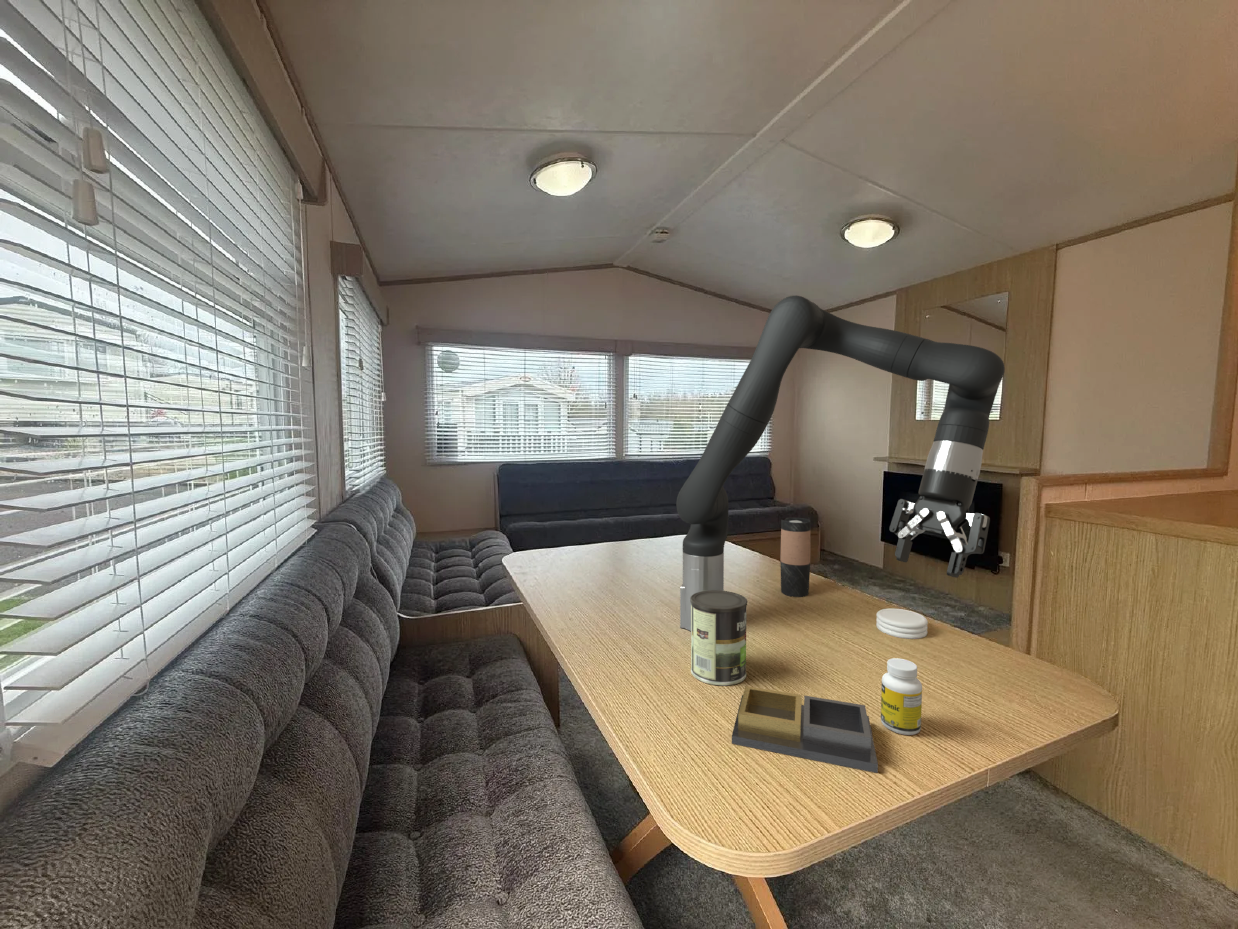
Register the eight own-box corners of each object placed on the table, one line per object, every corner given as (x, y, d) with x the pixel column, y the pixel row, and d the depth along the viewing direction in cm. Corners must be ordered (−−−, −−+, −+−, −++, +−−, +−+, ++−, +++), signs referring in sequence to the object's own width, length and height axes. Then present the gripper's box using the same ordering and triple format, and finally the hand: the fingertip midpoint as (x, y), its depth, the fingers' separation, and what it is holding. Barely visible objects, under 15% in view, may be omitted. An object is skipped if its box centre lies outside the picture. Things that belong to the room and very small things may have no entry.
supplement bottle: (873, 717, 81) (874, 656, 81) (905, 715, 82) (907, 655, 81) (894, 737, 76) (896, 673, 75) (929, 735, 77) (931, 671, 76)
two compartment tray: (731, 743, 75) (731, 719, 75) (742, 701, 86) (742, 680, 86) (877, 773, 68) (878, 746, 68) (868, 723, 80) (868, 700, 79)
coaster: (938, 638, 111) (938, 622, 111) (896, 642, 110) (896, 625, 109) (905, 620, 121) (905, 606, 121) (866, 624, 119) (866, 609, 119)
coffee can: (749, 664, 100) (750, 592, 98) (742, 690, 90) (743, 611, 89) (696, 656, 103) (696, 587, 102) (684, 680, 94) (684, 604, 92)
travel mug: (813, 597, 137) (815, 522, 136) (784, 597, 137) (785, 522, 136) (804, 588, 145) (805, 517, 143) (776, 588, 145) (777, 517, 143)
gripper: (896, 462, 90) (872, 553, 89) (985, 472, 77) (957, 578, 77) (922, 472, 93) (899, 560, 93) (1011, 483, 80) (984, 585, 80)
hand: (925, 568), depth 85 cm, fingers open, 8 cm apart
